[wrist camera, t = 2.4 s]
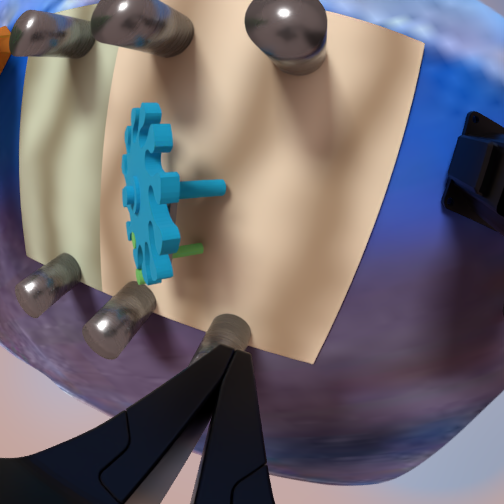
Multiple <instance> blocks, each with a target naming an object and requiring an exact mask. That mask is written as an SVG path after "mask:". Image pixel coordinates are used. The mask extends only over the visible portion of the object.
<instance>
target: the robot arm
mask: <svg viewBox="0 0 504 504" xmlns="http://www.w3.org/2000/svg"><path fill="white" fill-rule="evenodd" d="M473 116H475V117H476V122H475V123H474V122H473ZM448 176H449V179H448V182H447V185H446V188H445V191H444V194H443V196H442V204H443V206H444V207H446V208H447V209H449V210H451V211H453V212H456V213H458V214H460V215H463V216H465V217H467V218H469V219H472V220H474V221H476V222H478V223H480V224H482V225H485V226H487V227H489V228H491V229H493V230H495V231H497V232H499V233H500V234H501V235H503V236H504V127H502V126H500V125H499V124H497V123H495V122H494V121H492V120H490V119H489V118H487V117H485V116H484V115H482V114H480V113H478V112H475V111H471V112H469V113H468V114H467V117H466V121H465V125H464V129H463V133H462V135H461V136H459V137H458V140H457V144H456V147H455V151H454V154H453V157H452V161H451V164H450V167H449V170H448ZM449 198H452V202H451V203H450V204H447V200H448V199H449ZM503 315H504V306H503ZM211 416H212V417H211ZM210 419H211V421H210ZM209 421H210V425H209V428H208V432H207V437H206V441H205V445H204V449H203V453H202V457H201V461H200V465H199V470H198V474H197V478H196V482H195V486H194V490H193V494H192V498H191V503H190V504H275V501H274V498H273V493H272V488H271V483H270V478H269V471H268V465H266V463H267V459H266V452H265V446H264V439H263V432H262V425H261V418H260V411H259V405H258V398H257V391H256V383H255V376H254V369H253V362H252V356H251V354H250V353H249V352H246V351H243V350H240V349H237V350H236V351H235V348H234V347H231V346H228V345H225V344H219V345H218V346H216V347H215V348H214V349H212V350H211V351H210V352H208V353H207V354H205V355H204V356H203V357H201V358H200V359H198V360H197V361H196V362H194V363H193V364H191V365H190V366H189V367H187V368H186V369H184V370H183V371H181V372H180V373H179V374H177V375H176V376H174V377H173V378H171V379H170V380H169V381H167V382H166V383H164V384H163V385H161V386H160V387H158V388H157V389H155V390H154V391H152V392H151V393H149V394H148V395H146V396H145V397H143V398H142V399H140V400H139V401H137V402H136V403H134V404H133V405H131V406H130V407H128V408H127V409H126V411H125V410H124V411H122V412H120V413H119V414H117V415H116V416H114V417H113V418H111V419H109V420H108V421H106V422H105V423H103V424H101V425H99V426H97V427H96V428H94V429H92V430H89V431H87V432H85V433H83V434H81V435H79V436H77V437H75V438H72V439H70V440H68V441H66V442H63V443H60V444H58V445H56V446H53V447H51V448H48V449H46V450H43V451H41V452H38V453H36V454H33V455H29V456H25V457H19V458H0V504H160V503H161V501H162V500H163V498H164V497H165V495H166V494H167V492H168V490H169V489H170V487H171V485H172V484H173V482H174V480H175V479H176V477H177V476H178V474H179V472H180V471H181V469H182V467H183V466H184V464H185V462H186V461H187V459H188V457H189V456H190V454H191V452H192V451H193V449H194V447H195V445H196V444H197V442H198V440H199V439H200V437H201V435H202V433H203V432H204V430H205V428H206V426H207V425H208V423H209Z"/></svg>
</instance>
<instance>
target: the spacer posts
mask: <svg viewBox="0 0 504 504" xmlns="http://www.w3.org/2000/svg"><path fill="white" fill-rule="evenodd" d="M244 23H245V29H246V32H247V34H248V36H249V38H250V39H251V40H252V41H253V43H254V44H255V45H256V46H257V47H258V48H259V49H260V50H261V51H262V52H263V53H264V54H265V55H266V56H267V57H268V58H269V59H270V60H271V61H272V62H273V63H274V64H275V65H276V67H278V68H279V69H280V70H281V71H283V72H285V73H287V74H290V75H295V76H303V75H308V74H310V73H313V72H314V71H316V70H317V69H318V68H320V66H321V65H322V64H323V62H324V60H325V57H326V45H327V14H326V12H325V9H324V7H323V5H322V4H321V3H320V1H319V0H253V1H252V2H251V3H250V5H249V6H248V8H247V11H246V13H245V20H244ZM193 36H194V26H193V23H192V21H191V20H190V19H189V18H188V17H187V16H185V15H184V14H182V13H180V12H179V11H177V10H175V9H173V8H172V7H170V6H168V5H166V4H165V3H163V2H161V1H159V0H100V2H99V3H98V4H97V6H96V8H95V9H94V12H93V14H92V17H91V21H88V20H84V19H79V18H75V17H70V16H65V15H60V14H54V13H48V12H42V11H35V10H28V11H26V12H24V13H23V14H22V15H21V16H20V17H19V18H18V20H17V21H16V23H15V25H14V27H13V29H12V31H11V35H10V39H9V49H10V52H11V54H12V55H13V56H31V57H59V58H74V59H78V58H82V57H83V56H85V55H86V54H87V53H88V52H89V51H90V50H91V48H92V47H93V45H94V43H95V40H97V41H98V42H100V43H104V44H109V45H114V46H119V47H124V48H128V49H132V50H137V51H141V52H145V53H149V54H153V55H156V56H160V57H165V58H169V57H174V56H176V55H179V54H180V53H182V52H183V51H184V50H185V49H186V48H187V47H188V46H189V45H190V43H191V41H192V39H193ZM81 278H82V272H81V268H80V266H79V264H78V262H77V261H76V259H75V258H74V257H73V256H71V255H70V254H68V253H62V254H60V255H58V256H57V257H56V258H54V259H53V260H51V261H50V262H48V263H47V264H45V265H44V266H42V267H41V268H39V269H38V270H37V271H35V272H34V273H32V274H31V275H30V276H28V277H27V278H25V279H24V280H23V281H21V282H20V283H18V284H17V285H16V287H15V293H16V297H17V299H18V302H19V304H20V305H21V307H22V308H23V310H24V311H25V312H26V313H27V314H28V315H30V316H31V317H33V318H38V317H39V316H40V315H41V314H42V313H43V312H45V311H46V310H47V309H48V308H49V307H50V306H52V305H53V304H54V303H55V302H56V301H57V300H59V299H60V298H61V297H62V296H63V295H65V294H66V293H67V292H68V291H69V290H71V289H72V288H73V287H74V286H75V285H77V284H78V283H79V282H80V281H81ZM156 305H157V302H156V298H155V296H154V294H153V292H152V291H151V290H150V289H149V288H148V287H147V286H146V285H145V284H142V285H139V284H138V282H137V281H130V282H128V283H127V284H126V285H125V286H124V287H123V288H122V289H121V290H120V291H119V292H118V293H117V294H115V295H114V296H113V297H112V298H111V299H110V300H109V301H108V302H107V303H106V304H105V305H104V306H103V307H102V308H101V309H100V310H99V311H98V312H97V313H96V314H95V315H94V316H93V317H92V318H91V319H90V320H89V321H88V322H87V323H86V324H85V325H84V326H83V330H82V332H83V336H84V339H85V341H86V342H87V344H88V345H89V346H90V348H91V349H92V350H93V351H94V352H96V353H97V354H98V355H100V356H102V357H104V358H106V359H116V358H117V357H118V356H119V354H120V353H121V352H122V350H123V349H124V348H125V347H126V345H127V344H128V343H129V342H130V340H131V339H132V338H133V337H134V335H135V334H136V333H137V331H138V330H139V329H140V328H141V326H142V325H143V324H144V323H145V321H146V320H147V319H148V318H149V317H150V315H151V314H152V313H153V312H154V310H155V309H156ZM250 337H251V329H250V327H249V325H248V324H247V322H246V321H245V320H243V319H242V318H240V317H239V316H236V315H233V314H221V315H218V316H217V317H215V318H214V319H213V321H212V323H211V325H210V327H209V328H208V330H207V332H206V334H205V336H204V338H203V340H202V341H201V343H200V345H199V347H198V349H197V351H196V353H195V354H194V356H193V358H192V360H191V362H190V364H189V366H190V365H191V364H193V363H194V362H196V361H197V360H198V359H200V358H201V357H203V356H204V355H205V354H207V353H208V352H210V351H211V350H212V349H214V348H215V347H216V346H218V345H219V344H225V345H228V346H231V347H234V348H235V351H236V350H237V349H240V350H243V351H246V349H247V346H248V343H249V340H250ZM189 366H188V367H189Z"/></svg>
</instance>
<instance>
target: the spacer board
mask: <svg viewBox="0 0 504 504" xmlns="http://www.w3.org/2000/svg"><path fill="white" fill-rule="evenodd" d="M159 1H161V2H163V3H165V4H166V5H168V6H170V7H172V8H173V9H175V10H177V11H179V12H180V13H182V14H184V15H185V16H187V17H188V18H189V19H190V20H191V21H192V23H193V26H194V36H193V39H192V41H191V43H190V45H189V46H188V47H187V48H186V49H185V50H184V51H183V52H182V53H180V54H179V55H176V56H174V57H169V58H165V57H160V56H156V55H153V54H149V53H145V52H141V51H137V50H132V49H128V48H124V47H119V46H114V45H109V44H104V43H100V42H98V41H97V40H95V43H94V45H93V47H92V48H91V50H90V51H89V52H88V53H87V54H86V55H85V56H83V57H82V58H78V59H74V58H59V57H31V56H28V61H27V67H26V74H25V81H24V88H23V97H22V107H21V120H20V141H19V178H20V199H21V213H22V223H23V232H24V240H25V248H26V254H27V256H28V257H30V258H32V259H34V260H36V261H38V262H40V263H42V264H44V265H45V264H47V263H48V262H50V261H51V260H53V259H54V258H56V257H57V256H58V255H60V254H62V253H68V254H70V255H71V256H73V257H74V258H75V259H76V261H77V262H78V264H79V266H80V268H81V272H82V278H81V281H80V282H82V283H84V284H86V285H88V286H91V287H93V288H95V289H97V290H100V291H102V292H104V293H107V294H109V295H111V296H114V295H115V294H117V293H118V292H119V291H120V290H121V289H122V288H123V287H124V286H125V285H126V284H127V283H128V282H130V281H137V278H136V269H137V268H136V265H135V261H134V257H133V249H134V248H133V244H132V241H128V236H127V229H126V222H127V221H130V214H129V211H128V209H127V207H123V200H122V189H123V188H124V187H125V186H126V181H125V177H124V175H123V173H122V168H121V166H122V156H123V154H127V152H126V145H125V130H126V127H127V126H131V111H132V109H133V108H140V107H141V103H158V104H159V106H160V108H161V112H162V117H161V122H160V124H171V130H172V137H173V148H172V150H171V152H170V153H162V154H161V165H162V168H163V170H164V171H165V172H177V173H178V174H179V176H180V181H195V180H214V179H223V180H224V181H225V184H226V192H225V195H223V196H213V197H200V198H189V199H179V202H178V205H177V214H176V223H175V225H176V226H177V227H178V229H179V232H180V237H181V239H180V245H179V246H183V245H189V244H196V243H202V245H203V249H204V251H203V253H202V254H197V255H191V256H185V257H179V258H173V259H172V268H173V277H171V278H167V279H162V282H161V283H158V284H153V285H147V284H145V285H146V286H147V287H148V288H149V289H150V290H151V291H152V292H153V294H154V296H155V298H156V302H157V305H156V309H155V310H154V312H153V313H156V314H159V315H161V316H164V317H166V318H169V319H172V320H174V321H177V322H180V323H183V324H185V325H188V326H191V327H194V328H197V329H200V330H202V331H205V332H207V330H208V328H209V327H210V325H211V323H212V321H213V319H214V318H215V317H217V316H218V315H221V314H233V315H236V316H239V317H240V318H242V319H243V320H245V321H246V322H247V324H248V325H249V327H250V329H251V337H250V340H249V343H248V346H251V347H255V348H258V349H261V350H265V351H268V352H271V353H275V354H278V355H282V356H285V357H289V358H293V359H296V360H300V361H304V362H307V363H311V364H313V363H314V361H315V359H316V357H317V355H318V353H319V351H320V349H321V347H322V345H323V343H324V341H325V339H326V337H327V335H328V333H329V331H330V329H331V326H332V324H333V322H334V320H335V318H336V316H337V313H338V311H339V309H340V307H341V305H342V302H343V300H344V298H345V296H346V293H347V291H348V289H349V286H350V284H351V282H352V279H353V277H354V274H355V272H356V270H357V267H358V265H359V262H360V260H361V257H362V255H363V252H364V250H365V247H366V245H367V242H368V240H369V237H370V234H371V232H372V229H373V226H374V224H375V221H376V218H377V215H378V213H379V210H380V207H381V204H382V201H383V198H384V195H385V192H386V189H387V186H388V183H389V180H390V177H391V174H392V171H393V168H394V165H395V161H396V158H397V155H398V152H399V148H400V145H401V141H402V138H403V134H404V131H405V127H406V123H407V120H408V116H409V112H410V108H411V104H412V100H413V96H414V92H415V88H416V83H417V79H418V74H419V70H420V65H421V60H422V55H423V50H424V44H425V43H422V42H420V41H418V40H415V39H413V38H410V37H408V36H405V35H403V34H400V33H398V32H395V31H392V30H389V29H387V28H384V27H381V26H378V25H375V24H372V23H369V22H365V21H362V20H359V19H355V18H352V17H348V16H345V15H341V14H337V13H333V12H329V11H325V12H326V14H327V45H326V57H325V60H324V62H323V64H322V65H321V66H320V68H318V69H317V70H316V71H314V72H313V73H310V74H308V75H303V76H295V75H290V74H287V73H285V72H283V71H281V70H280V69H279V68H278V67H276V65H275V64H274V63H273V62H272V61H271V60H270V59H269V58H268V57H267V56H266V55H265V54H264V53H263V52H262V51H261V50H260V49H259V48H258V47H257V46H256V45H255V44H254V43H253V41H252V40H251V39H250V38H249V36H248V34H247V32H246V29H245V23H244V20H245V13H246V11H247V8H248V6H249V5H250V3H251V2H252V1H253V0H159ZM96 6H97V4H93V5H88V6H83V7H78V8H73V9H69V10H65V11H61V12H57V13H54V14H60V15H65V16H70V17H75V18H79V19H84V20H88V21H91V17H92V14H93V12H94V9H95V8H96Z"/></svg>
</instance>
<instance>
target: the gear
mask: <svg viewBox="0 0 504 504" xmlns="http://www.w3.org/2000/svg"><path fill="white" fill-rule="evenodd" d="M161 117H162V112H161V108H160V106H159V104H158V103H141V107H140V108H133V109H132V111H131V126H127V127H126V130H125V145H126V152H127V154H123V156H122V166H121V168H122V173H123V175H124V177H125V181H126V186H125V187H124V188H123V189H122V200H123V207H127V209H128V211H129V214H130V221H127V222H126V229H127V236H128V241H132V244H133V248H134V249H133V257H134V261H135V265H136V268H137V269H136V278H137V282H138V284H139V285H142V284H147V285H153V284H158V283H161V282H162V279H167V278H171V277H173V268H172V259H173V258H179V257H185V256H191V255H197V254H202V253H203V251H204V249H203V245H202V243H196V244H189V245H183V246H179V245H180V239H181V237H180V232H179V229H178V227H177V226H176V225H175V223H176V214H177V205H178V202H179V199H189V198H200V197H213V196H223V195H225V192H226V184H225V181H224V180H223V179H214V180H195V181H180V176H179V174H178V173H177V172H165V171H164V170H163V168H162V165H161V154H162V153H170V152H171V150H172V148H173V137H172V130H171V124H160V122H161Z"/></svg>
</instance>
